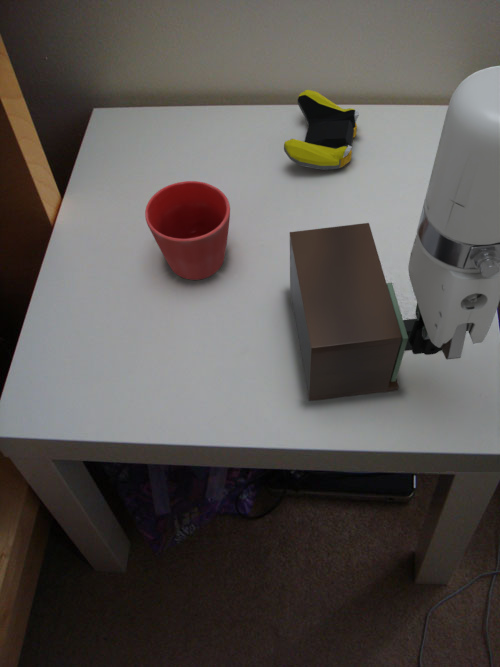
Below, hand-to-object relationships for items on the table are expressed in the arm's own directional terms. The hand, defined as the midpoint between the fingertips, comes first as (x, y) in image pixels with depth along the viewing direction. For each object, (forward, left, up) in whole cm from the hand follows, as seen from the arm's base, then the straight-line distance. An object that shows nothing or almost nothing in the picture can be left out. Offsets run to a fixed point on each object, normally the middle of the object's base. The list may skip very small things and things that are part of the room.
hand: (425, 346), depth 63 cm
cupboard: (+7, -8, -9) cm, 14 cm away
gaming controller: (+3, -44, -9) cm, 45 cm away
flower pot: (+24, -24, -9) cm, 35 cm away
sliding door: (0, -4, -8) cm, 9 cm away
